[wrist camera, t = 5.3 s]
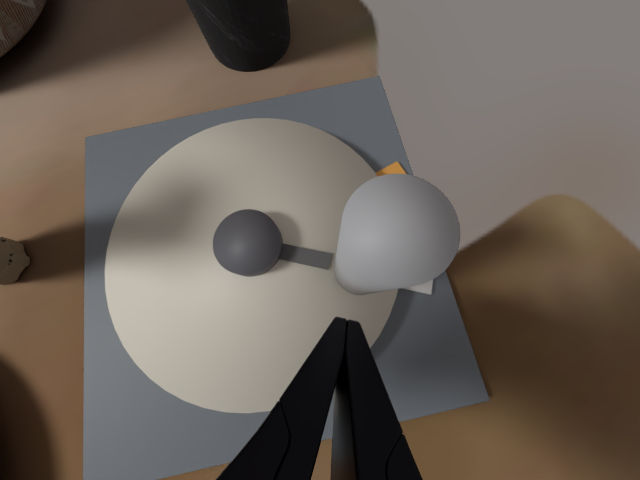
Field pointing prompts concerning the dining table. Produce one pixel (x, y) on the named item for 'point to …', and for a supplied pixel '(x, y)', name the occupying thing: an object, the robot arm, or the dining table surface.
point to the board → (237, 428)
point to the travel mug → (244, 31)
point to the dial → (263, 257)
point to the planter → (17, 20)
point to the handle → (11, 260)
